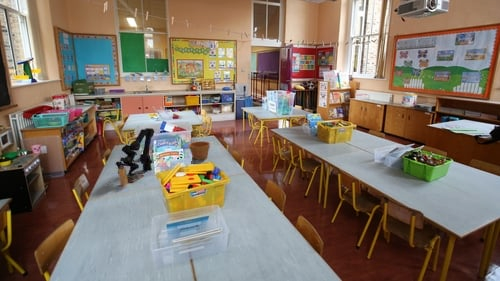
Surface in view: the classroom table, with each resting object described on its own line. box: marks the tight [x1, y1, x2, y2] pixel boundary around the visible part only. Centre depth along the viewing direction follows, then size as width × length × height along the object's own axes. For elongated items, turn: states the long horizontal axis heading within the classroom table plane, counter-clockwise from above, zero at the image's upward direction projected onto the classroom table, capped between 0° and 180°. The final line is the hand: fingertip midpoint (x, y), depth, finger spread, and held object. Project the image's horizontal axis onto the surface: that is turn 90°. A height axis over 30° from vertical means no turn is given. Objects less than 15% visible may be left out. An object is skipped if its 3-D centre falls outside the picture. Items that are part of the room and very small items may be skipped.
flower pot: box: [188, 141, 211, 161], centre depth 290 cm, size 21×21×15 cm
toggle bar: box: [117, 166, 129, 186], centre depth 228 cm, size 4×4×16 cm
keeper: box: [127, 172, 145, 184], centre depth 240 cm, size 14×11×4 cm
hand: (123, 174), depth 228 cm, fingers open, 9 cm apart
